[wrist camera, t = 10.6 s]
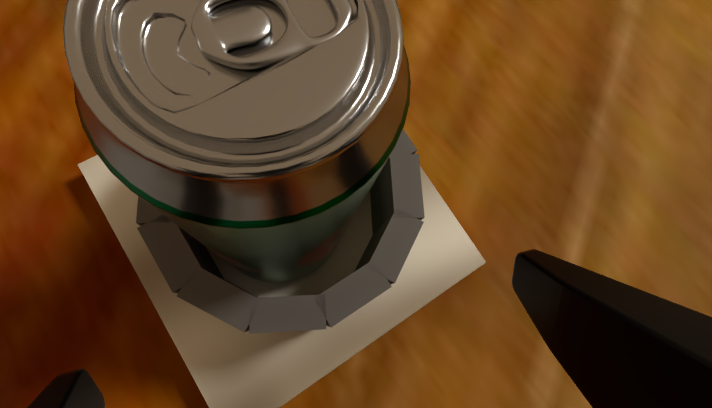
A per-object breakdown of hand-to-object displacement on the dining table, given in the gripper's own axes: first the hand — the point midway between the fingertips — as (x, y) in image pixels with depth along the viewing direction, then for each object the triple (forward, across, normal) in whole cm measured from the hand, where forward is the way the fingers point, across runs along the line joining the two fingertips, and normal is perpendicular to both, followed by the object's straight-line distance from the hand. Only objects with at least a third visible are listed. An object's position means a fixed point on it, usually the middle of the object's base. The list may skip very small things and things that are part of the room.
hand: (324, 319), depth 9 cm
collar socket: (+9, 0, +3) cm, 10 cm away
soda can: (+8, 0, +3) cm, 9 cm away
